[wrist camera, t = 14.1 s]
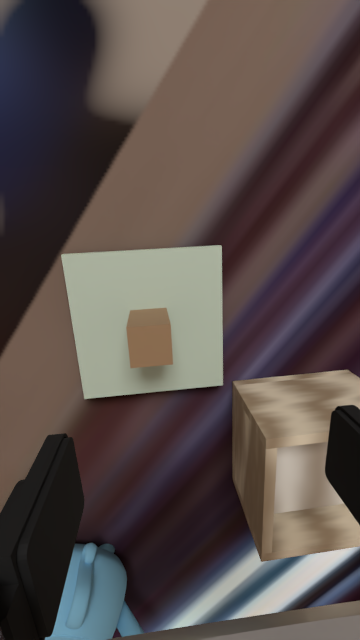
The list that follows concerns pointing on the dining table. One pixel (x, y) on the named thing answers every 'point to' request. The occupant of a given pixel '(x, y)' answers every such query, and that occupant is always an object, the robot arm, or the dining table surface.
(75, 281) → the lid
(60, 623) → the teapot
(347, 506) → the robot arm
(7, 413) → the dining table surface
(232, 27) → the dining table surface
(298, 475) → the box
